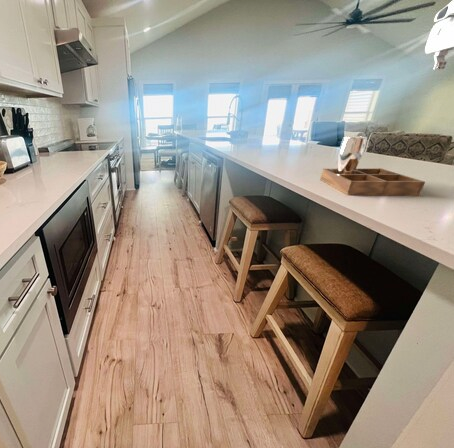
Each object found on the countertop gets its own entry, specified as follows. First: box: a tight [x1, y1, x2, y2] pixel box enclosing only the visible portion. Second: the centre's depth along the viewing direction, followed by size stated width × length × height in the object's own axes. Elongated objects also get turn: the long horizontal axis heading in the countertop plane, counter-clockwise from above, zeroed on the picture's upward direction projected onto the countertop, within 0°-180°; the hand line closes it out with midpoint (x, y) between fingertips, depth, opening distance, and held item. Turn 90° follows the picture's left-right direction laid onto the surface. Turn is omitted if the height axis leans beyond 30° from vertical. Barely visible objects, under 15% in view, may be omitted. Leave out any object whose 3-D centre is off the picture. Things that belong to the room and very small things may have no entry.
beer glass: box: [336, 135, 368, 174], centre depth 84 cm, size 7×7×15 cm
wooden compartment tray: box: [320, 167, 426, 197], centre depth 82 cm, size 19×19×4 cm
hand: (453, 66), depth 65 cm, fingers open, 8 cm apart
